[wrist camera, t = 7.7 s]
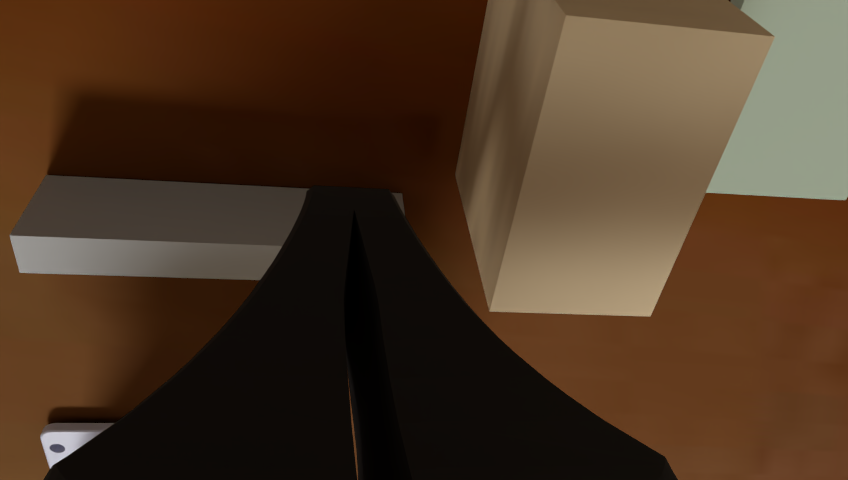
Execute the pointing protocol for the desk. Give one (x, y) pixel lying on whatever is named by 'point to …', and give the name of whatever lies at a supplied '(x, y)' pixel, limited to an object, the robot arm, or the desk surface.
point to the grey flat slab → (155, 228)
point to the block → (597, 144)
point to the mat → (793, 106)
